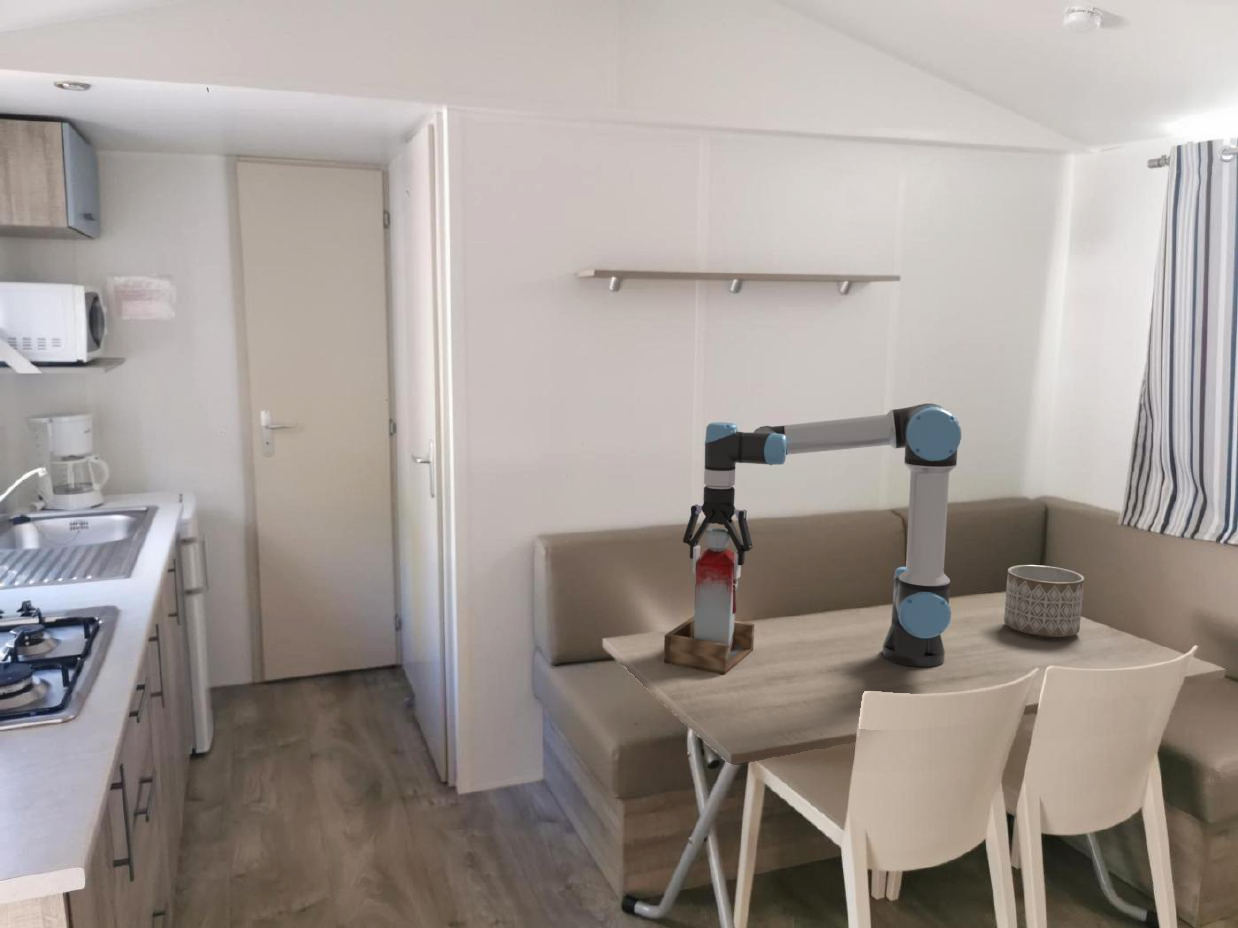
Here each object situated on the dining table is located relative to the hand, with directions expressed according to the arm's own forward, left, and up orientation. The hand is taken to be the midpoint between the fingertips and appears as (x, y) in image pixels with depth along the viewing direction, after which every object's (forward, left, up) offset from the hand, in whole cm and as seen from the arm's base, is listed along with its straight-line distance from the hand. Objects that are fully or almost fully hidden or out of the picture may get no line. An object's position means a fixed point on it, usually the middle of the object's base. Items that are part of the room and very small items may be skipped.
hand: (716, 574), depth 245 cm
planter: (-71, -66, -21) cm, 99 cm away
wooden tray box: (+1, 0, -21) cm, 21 cm away
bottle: (0, 0, -19) cm, 19 cm away
